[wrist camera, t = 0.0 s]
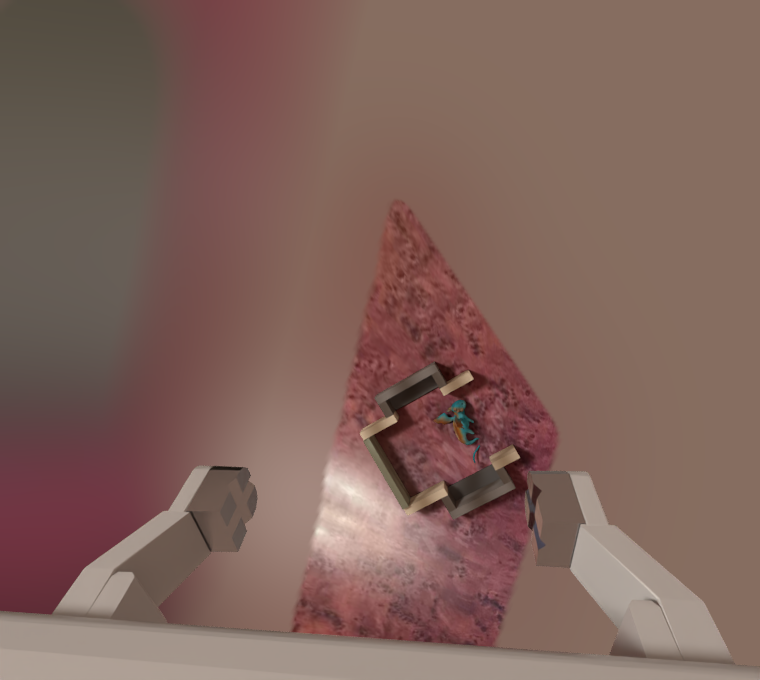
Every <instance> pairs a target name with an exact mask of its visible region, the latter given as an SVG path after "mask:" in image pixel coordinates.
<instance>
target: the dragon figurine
mask: <svg viewBox="0 0 760 680" xmlns="http://www.w3.org/2000/svg"><path fill="white" fill-rule="evenodd" d="M465 407H466V402H465V401H464V400H458V401H456V402H454V403H453V405H452V407H449V408H448V411H447V412H449V411H453V412H454V413H455V415H454V417H448V416H447V415H446V414H445V413H443V414H441V415H440V416H439V417H438V418H436V419H435V420H434V422H436V423H438V424H439V423H442V424H447V423H450V422H451V421H452V420H453V427H454V431H455V433H456V436H457V438H458V440H459V441H461V442H462V443H463V444H466V445H470V444H473V443H474V442H475V441H476V440H478V439H479V438H475V439H473V440H471V441H468V440H467V438H466V433H471V434H474V432H472V431H471V430H470V429H469V428H468V427H469V422H472V423H474V421H473V420H471V419H470V418H468V417H467V416H466V415H465V412H464V409H465ZM479 447H480V445H479V446H478V448H477V449H476V450H475V452H474V454H473V460H474V463H475V459H474V457H475V453H476V452H477V450H478V449H479Z"/></svg>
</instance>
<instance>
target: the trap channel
mask: <svg viewBox="0 0 760 680" xmlns="http://www.w3.org/2000/svg"><path fill="white" fill-rule="evenodd" d="M472 380H473V377H472V375H471V373H470V372H469V370H467V371H465V372H463V373H461V374H460V375H458V376H456V377H454V378H452V379H451V380H449V381H447V382H446V380H445V378H444V376H443V375H442V373H441V371H440V370H439V368H438V366H437V365H436V363H435V362H433V363H431V364H430V365H428V366H426V367H424V368H423V369H421V370H419V371H417V372H416V373H414V374H412V375H410V376H409V377H407V378H405V379H403V380H401V381H400V382H398V383H396V384H394V385H393V386H391V387H389V388H387V389H386V390H384V391H382V392H380V393H379V394H377V395H376V397H375V400H376V401H377V403H378V405H379V406H380V408H381V410H382V412H383V413H384V415H385V416H384V417H383V418H381V419H379V420H377V421H375V422H374V423H372V424H370V425H368V426H367V427H365V428H363V429H362V431H361V432H360V435H361V436H362V438H363V440H364V444H365V445H366V447H367V449H368V450H369V452H370V454H371V456H372V457H373V459H374V461H375V463H376V464H377V466H378V468H379V469H380V471H381V473H382V475H383V476H384V478H385V480H386V481H387V483H388V485H389V487H390V488H391V490H392V492H393V493H394V495H395V497H396V499H397V500H398V502H399V504H400V505H401V507H402V509H404V510H405V512H406V514H407V516H408V515H410V514H412V513H414V512H416V511H418V510H420V509H422V508H424V507H426V506H428V505H430V504H431V503H433V502H435V501H437V500H439V499H441V500H442V501H443V503H444V505H445V506H446V508H447V510H448V512H449V513H450V515H451V517H452V518H453V519H455V518H457V517H459V516H461V515H463V514H465V513H467V512H469V511H471V510H473V509H475V508H477V507H479V506H481V505H483V504H485V503H487V502H489V501H491V500H493V499H495V498H497V497H499V496H501V495H503V494H505V493H507V492H509V491H511V490H513V489H515V485H514V483H513V481H512V479H511V477H510V476H509V474H508V472H507V470H506V469H505V467H504V466H506V465H508V464H509V463H511V462H513V461H515V460H517V459H519V458H520V456H519V455H518V453H517V451H516V449H515V448H514V446H513V445H511V446H509V447H507V448H505V449H503V450H501V451H499V452H497V453H496V454H494V455H492V456H490V460H491V463H492V464H491V465H490V466H488V467H486V468H484V469H482V470H480V471H478V472H476V473H474V474H472V475H470V476H468V477H466V478H464V479H462V480H460V481H459V482H457V483H455V484H453V485H451V486H449V487H447V485H446V483H445V482H444V481H442V482H440V483H438V484H436V485H434V486H432V487H430V488H428V489H426V490H424V491H422V492H420V493H419V494H417V495H415V496H413V497H411V498H410V496H409V494H408V492H407V490H406V489H405V487H404V485H403V484H402V482H401V480H400V478H399V477H398V475H397V473H396V472H395V470H394V468H393V466H392V465H391V463H390V461H389V460H388V458H387V456H386V454H385V453H384V451H383V449H382V448H381V446H380V444H379V442H378V441H377V439H376V437H375V435H374V434H376V433H378V432H380V431H381V430H383V429H385V428H387V427H389V426H390V425H392V424H394V423H396V422H397V421H398V419H399V415H398V414H397V412H396V410H397V409H399V408H401V407H403V406H404V405H406V404H408V403H410V402H412V401H413V400H415V399H417V398H419V397H421V396H422V395H424V394H426V393H428V392H430V391H431V390H433V389H435V388H437V387H439V388H440V390H441V392H442V394H443V395H444V396H445V395H446V394H448V393H450V392H452V391H454V390H455V389H457V388H459V387H461V386H463V385H464V384H466V383H468V382H470V381H472Z"/></svg>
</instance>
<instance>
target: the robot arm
mask: <svg viewBox="0 0 760 680" xmlns="http://www.w3.org/2000/svg"><path fill="white" fill-rule="evenodd" d="M250 476H251V475H250V472H249V470H248V468H245V467H225V466H198V467H196V468H195V469H194V470H193V471H192V473H191V474H190V476H189V478H188V479H187V481H186V483H185V484H184V486H183V488H182V489H181V491H180V492H179V494H178V496H177V497H176V499H175V501H174V503H173V504H172V506H171V507H170V509H169V510H168V511H163V512H162V513H160V514H159V515H158V516H156V517H155V518H153V519H152V520H151V521H149V522H148V523H146V524H145V525H144V526H142V527H141V528H139V529H138V530H137V531H135V532H134V533H133V534H131V535H130V536H128V537H127V538H126V539H124V540H123V541H121V542H120V543H119V544H117V545H116V546H114V547H113V548H112V549H110V550H109V551H108V552H106V553H105V554H103V555H102V556H101V557H99V558H98V559H96V560H95V561H94V562H92V563H91V564H90V565H88V566H87V567H85V568H84V570H83V571H82V572H81V574H80V575H79V577H78V578H77V580H76V581H75V582H74V584H73V585H72V587H71V588H70V589H69V591H68V592H67V594H66V595H65V597H64V598H63V599H62V601H61V602H60V603H59V605H58V606H57V608H56V609H55V611H54V612H53V613H52V615H47V614H46V615H45V614H32V613H19V612H5V611H0V680H760V666H747V665H735V663H734V661H733V659H732V657H731V655H730V653H729V651H728V649H727V647H726V645H725V643H724V641H723V639H722V637H721V635H720V633H719V631H718V629H717V627H716V625H715V623H714V621H713V619H712V617H711V615H710V613H709V612H708V609H707V607H706V605H705V604H704V602H703V601H702V600H701V599H699V598H698V597H697V596H696V595H695V594H694V593H692V592H691V591H690V590H689V589H688V588H687V587H686V586H684V585H683V584H682V583H681V582H680V581H679V580H678V579H677V578H675V577H674V576H673V575H672V574H671V573H670V572H668V571H667V570H666V569H665V568H664V567H663V566H662V565H660V564H659V563H658V562H657V561H656V560H655V559H654V558H652V557H651V556H650V555H649V554H648V553H647V552H646V551H644V550H643V549H642V548H641V547H640V546H639V545H637V544H636V543H635V542H634V541H633V540H632V539H631V538H629V537H628V536H627V535H626V534H625V533H624V532H622V531H621V530H620V529H619V528H618V527H617V526H614V525H609V523H608V520H607V517H606V515H605V512H604V510H603V507H602V505H601V502H600V499H599V497H598V495H597V492H596V490H595V487H594V484H593V482H592V479H591V477H590V475H589V473H587V472H574V471H571V472H570V471H568V472H566V471H529V472H528V475H527V483H528V488H529V489H528V490H527V491H526V492H525V512H526V519H527V524H528V527H529V528H530V529H531V530H532V539H531V544H532V548H533V553H534V558H535V562H536V565H537V566H550V567H564V568H570V570H571V571H572V573H573V574H574V575H575V576H576V578H577V579H578V580H579V581H580V583H581V584H582V585H583V586H584V587H585V589H586V590H587V591H588V592H589V594H590V595H591V596H592V597H593V598H594V600H595V601H596V602H597V603H598V605H599V606H600V607H601V608H602V609H603V611H604V612H605V613H606V614H607V616H608V617H609V618H610V619H611V621H612V622H613V623H614V624H615V625H616V627H617V628H618V629H619V631H618V634H617V637H616V639H615V641H614V644H613V647H612V649H611V652H610V654H609V655H595V654H581V653H568V652H554V651H539V650H527V649H513V648H499V647H486V646H472V645H458V644H444V643H431V642H417V641H403V640H390V639H376V638H363V637H349V636H335V635H322V634H308V633H294V632H280V631H266V630H265V631H264V630H252V629H238V628H224V627H209V626H197V625H183V624H169V623H167V621H166V619H165V617H164V616H163V614H162V613H161V612H160V610H159V609H158V606H159V605H160V604H161V603H162V602H163V601H164V600H165V599H166V598H167V597H168V596H169V595H170V594H171V593H172V592H173V591H174V590H175V589H176V588H177V587H178V586H179V585H180V584H181V583H182V582H183V581H184V580H185V579H186V578H187V577H188V576H189V575H190V574H191V573H192V572H193V571H194V570H195V569H196V568H197V566H198V565H200V564H201V563H202V562H203V561H204V559H206V558H207V557H208V556H209V555H210V553H211V552H238V551H239V549H240V546H241V544H242V541H243V539H244V537H245V534H246V532H247V530H246V527H245V523H246V522H248V521H249V520H250V519H251V518H252V517H253V515H254V512H255V509H256V503H257V491H256V488H255V485H253V484H252V483H251V482H249V481H248V480H249V478H250Z"/></svg>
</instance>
